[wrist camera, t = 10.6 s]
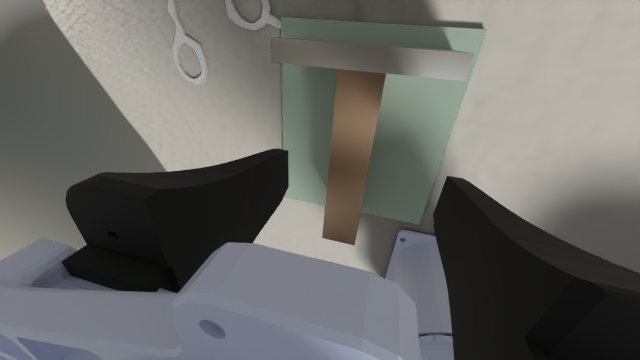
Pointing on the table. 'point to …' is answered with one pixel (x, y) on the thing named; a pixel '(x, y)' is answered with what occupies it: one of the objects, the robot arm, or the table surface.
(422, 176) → the tool mat
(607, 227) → the table surface
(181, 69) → the scissors
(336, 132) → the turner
